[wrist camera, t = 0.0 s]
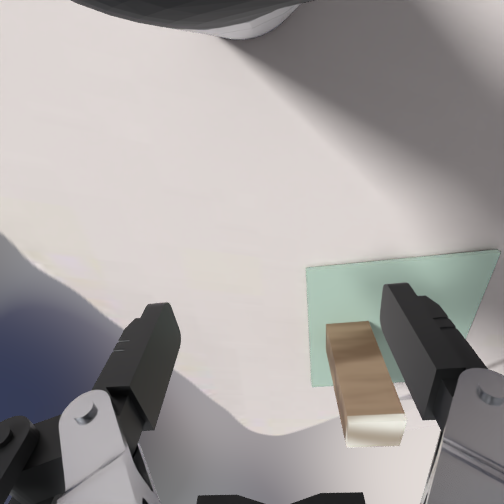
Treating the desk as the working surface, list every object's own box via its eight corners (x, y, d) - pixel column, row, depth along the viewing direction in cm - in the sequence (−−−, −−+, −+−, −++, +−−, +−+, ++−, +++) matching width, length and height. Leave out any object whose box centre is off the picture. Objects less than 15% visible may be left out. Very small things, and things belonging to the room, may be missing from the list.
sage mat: (305, 267, 32) (306, 270, 31) (497, 249, 30) (501, 252, 29) (311, 383, 44) (312, 387, 44) (446, 376, 42) (448, 379, 42)
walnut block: (325, 324, 36) (348, 423, 26) (368, 320, 35) (407, 420, 26) (325, 350, 39) (346, 447, 29) (365, 347, 38) (399, 445, 29)
